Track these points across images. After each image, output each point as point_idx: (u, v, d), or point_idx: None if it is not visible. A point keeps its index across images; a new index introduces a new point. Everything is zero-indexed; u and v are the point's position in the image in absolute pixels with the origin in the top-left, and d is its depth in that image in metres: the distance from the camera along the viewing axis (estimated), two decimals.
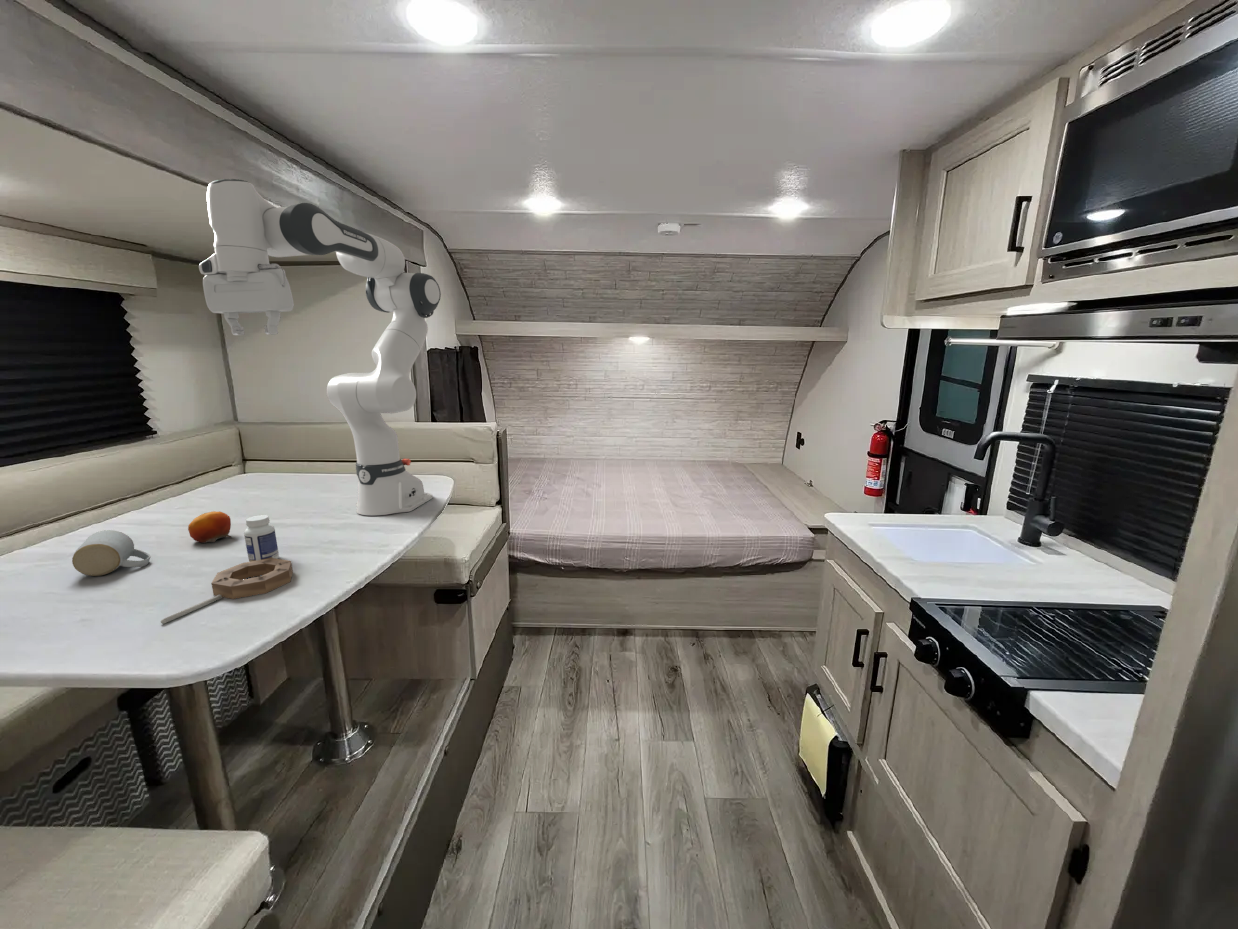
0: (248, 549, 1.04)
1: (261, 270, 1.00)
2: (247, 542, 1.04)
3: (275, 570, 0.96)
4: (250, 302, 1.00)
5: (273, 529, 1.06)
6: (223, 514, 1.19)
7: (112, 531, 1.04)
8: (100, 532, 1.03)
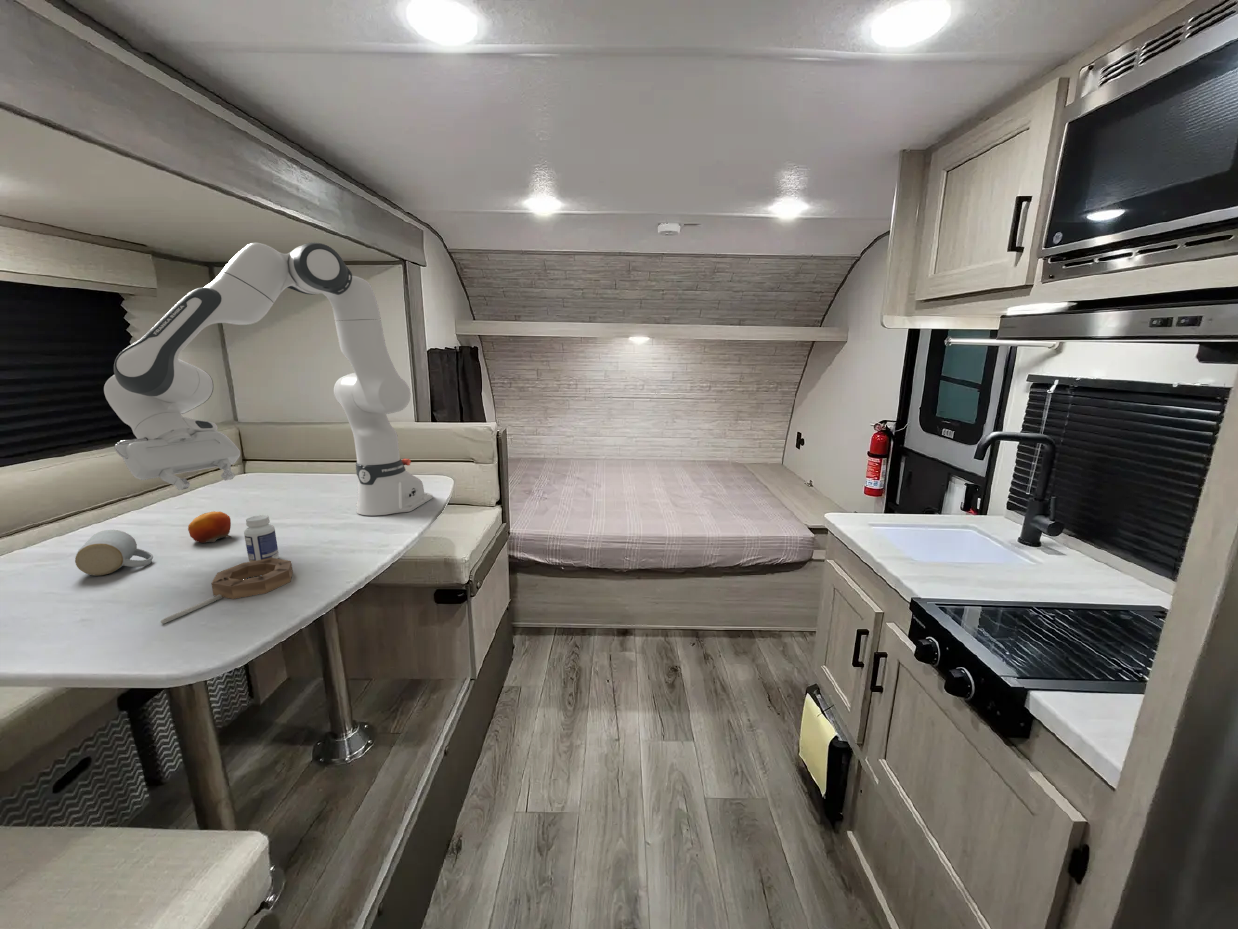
0: (248, 549, 1.04)
1: None
2: (247, 542, 1.04)
3: (275, 570, 0.96)
4: None
5: (273, 529, 1.06)
6: (223, 514, 1.19)
7: (115, 531, 1.04)
8: (103, 532, 1.03)
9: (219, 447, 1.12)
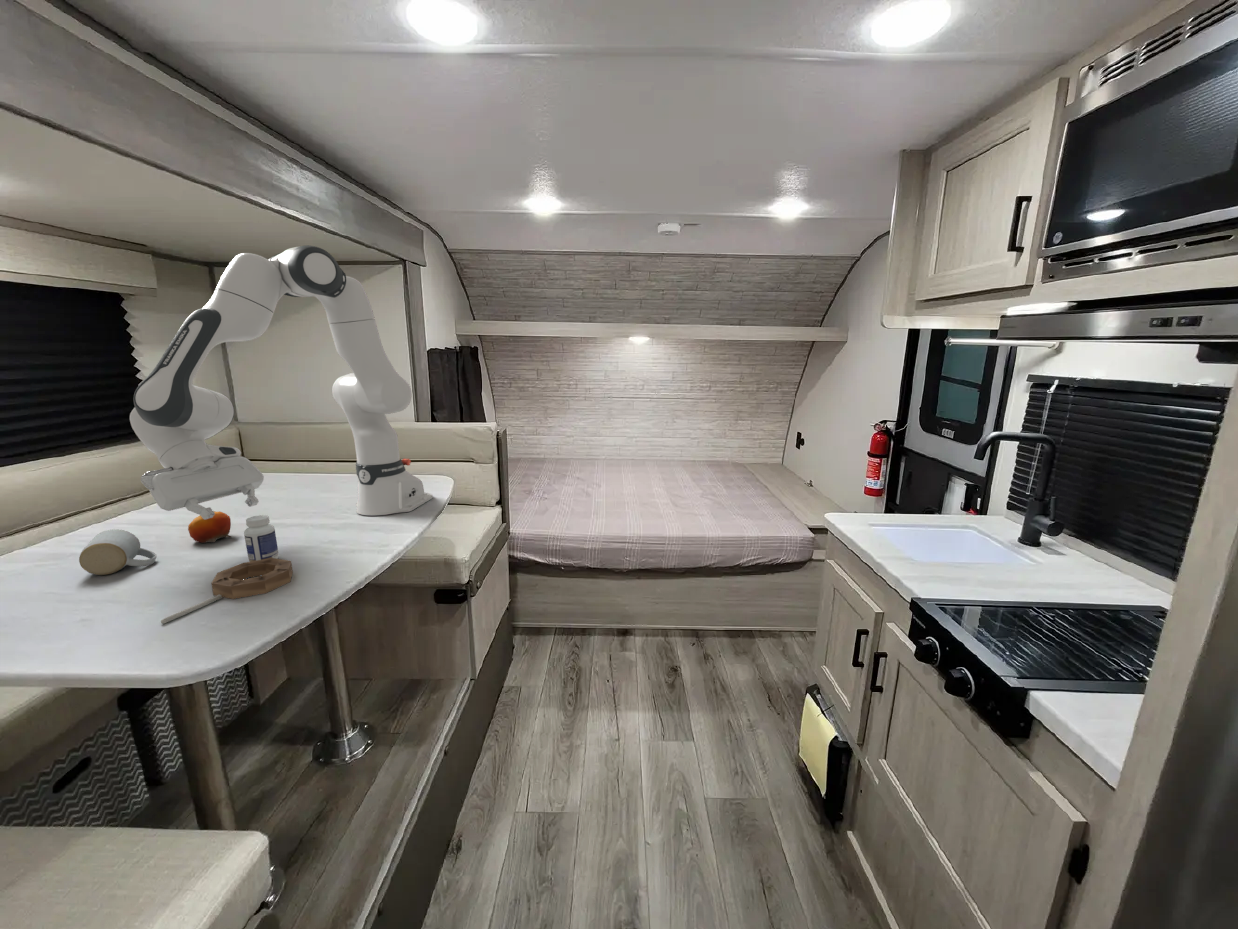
0: (248, 549, 1.04)
1: None
2: (247, 542, 1.04)
3: (275, 570, 0.96)
4: None
5: (273, 529, 1.06)
6: (223, 514, 1.19)
7: (118, 530, 1.04)
8: (107, 531, 1.03)
9: (242, 472, 1.12)
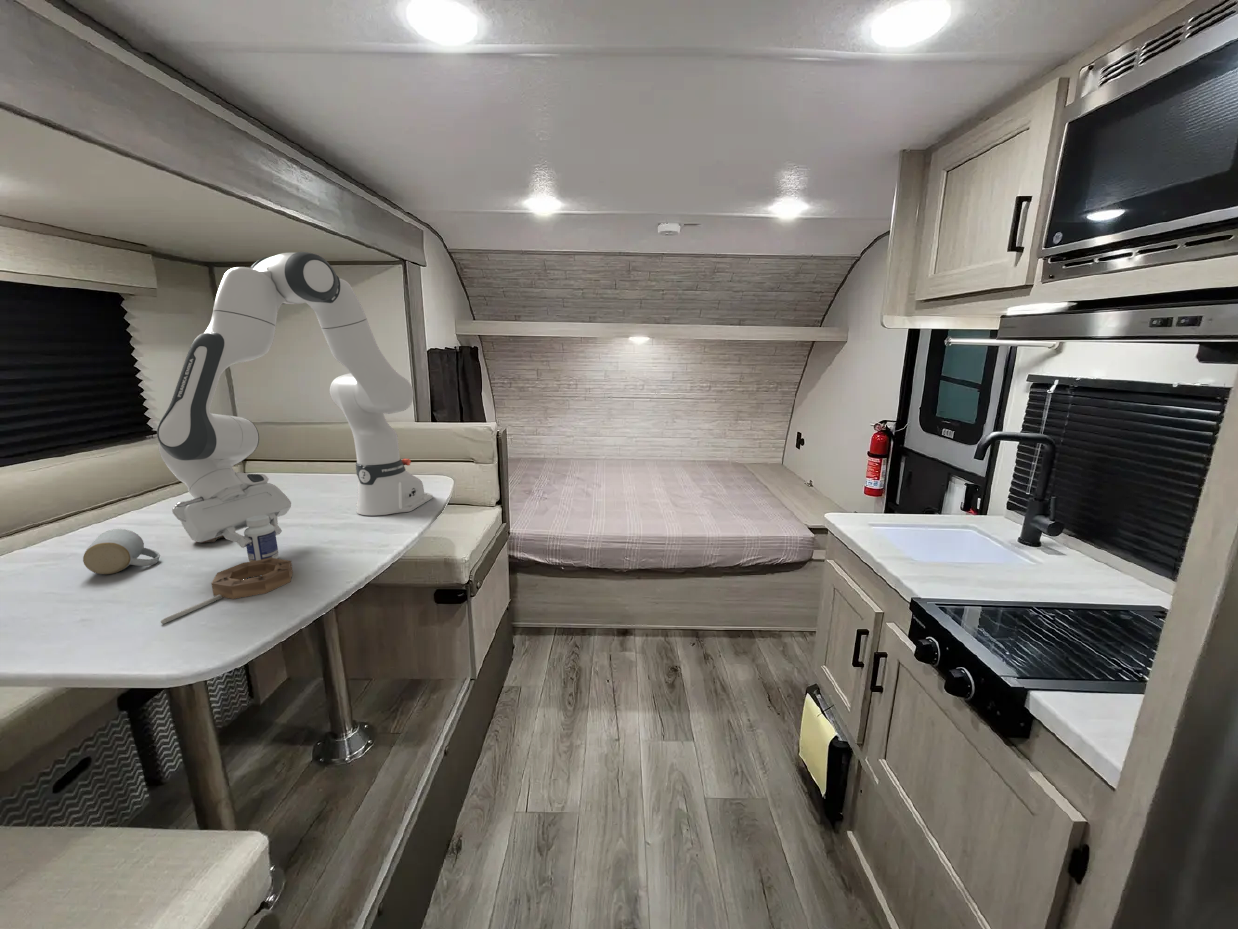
0: (248, 549, 1.04)
1: None
2: None
3: (275, 570, 0.96)
4: None
5: (273, 529, 1.06)
6: None
7: (122, 530, 1.04)
8: (110, 531, 1.03)
9: (270, 500, 1.11)
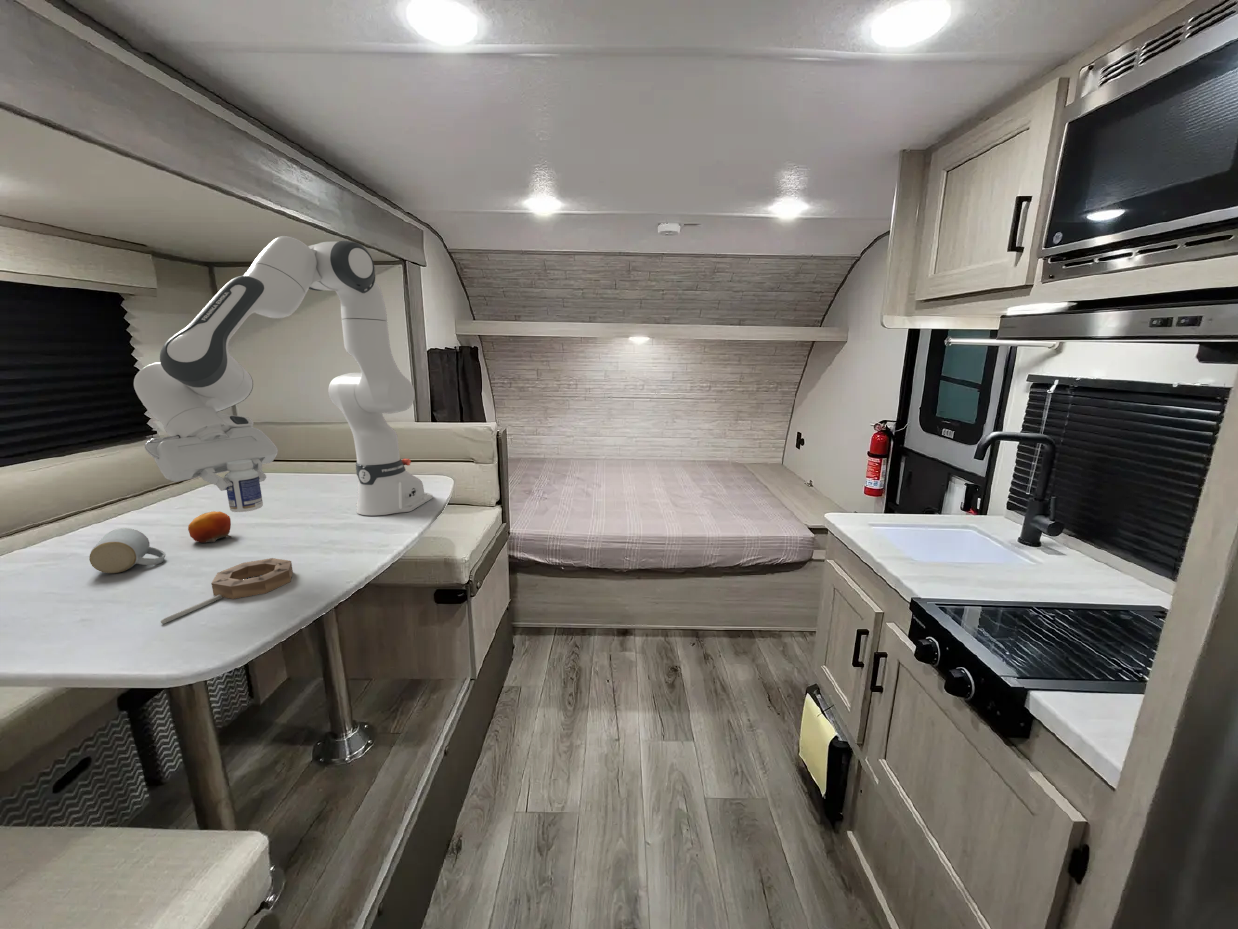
0: (229, 495, 0.96)
1: None
2: None
3: (275, 570, 0.96)
4: None
5: (256, 475, 0.98)
6: (223, 514, 1.19)
7: (128, 529, 1.05)
8: (116, 530, 1.04)
9: (255, 444, 1.03)
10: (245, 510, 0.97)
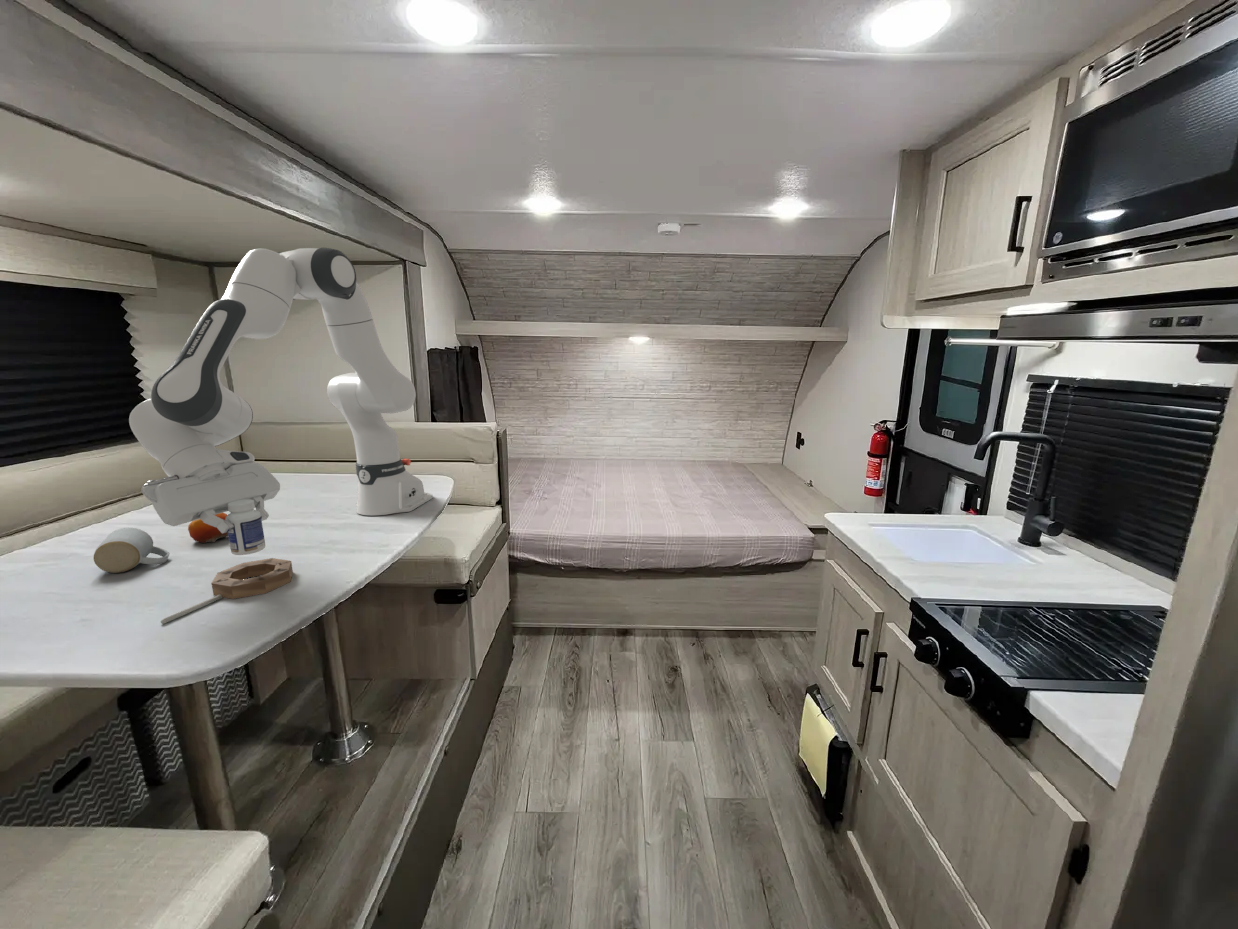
0: (230, 537, 0.92)
1: None
2: None
3: (275, 570, 0.96)
4: None
5: (259, 515, 0.94)
6: (223, 514, 1.19)
7: (132, 528, 1.05)
8: (120, 529, 1.04)
9: (256, 481, 0.99)
10: (247, 553, 0.93)
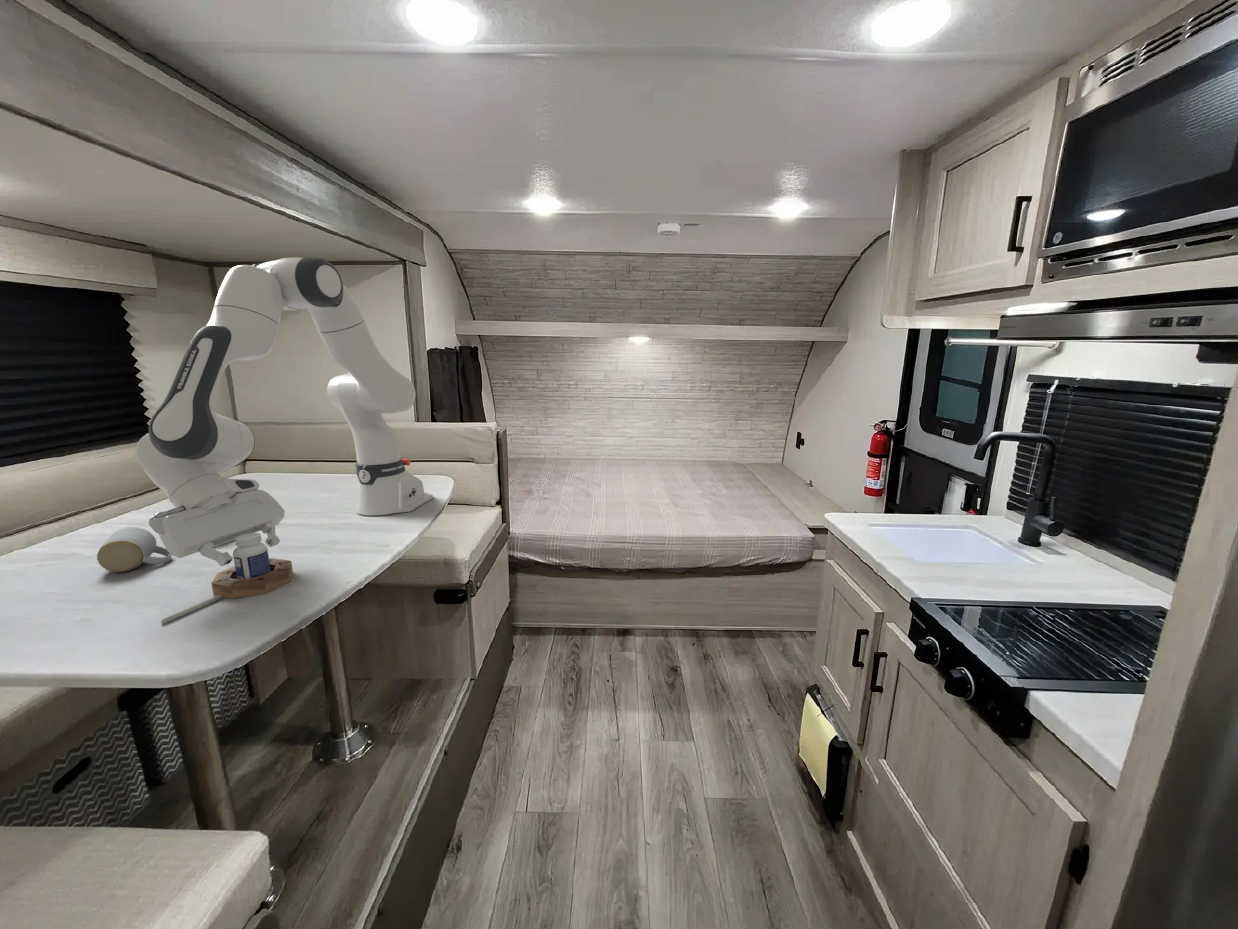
0: (237, 571, 0.93)
1: None
2: (236, 564, 0.93)
3: (275, 570, 0.96)
4: None
5: (265, 549, 0.96)
6: None
7: (135, 528, 1.05)
8: (124, 529, 1.04)
9: (261, 508, 1.00)
10: None
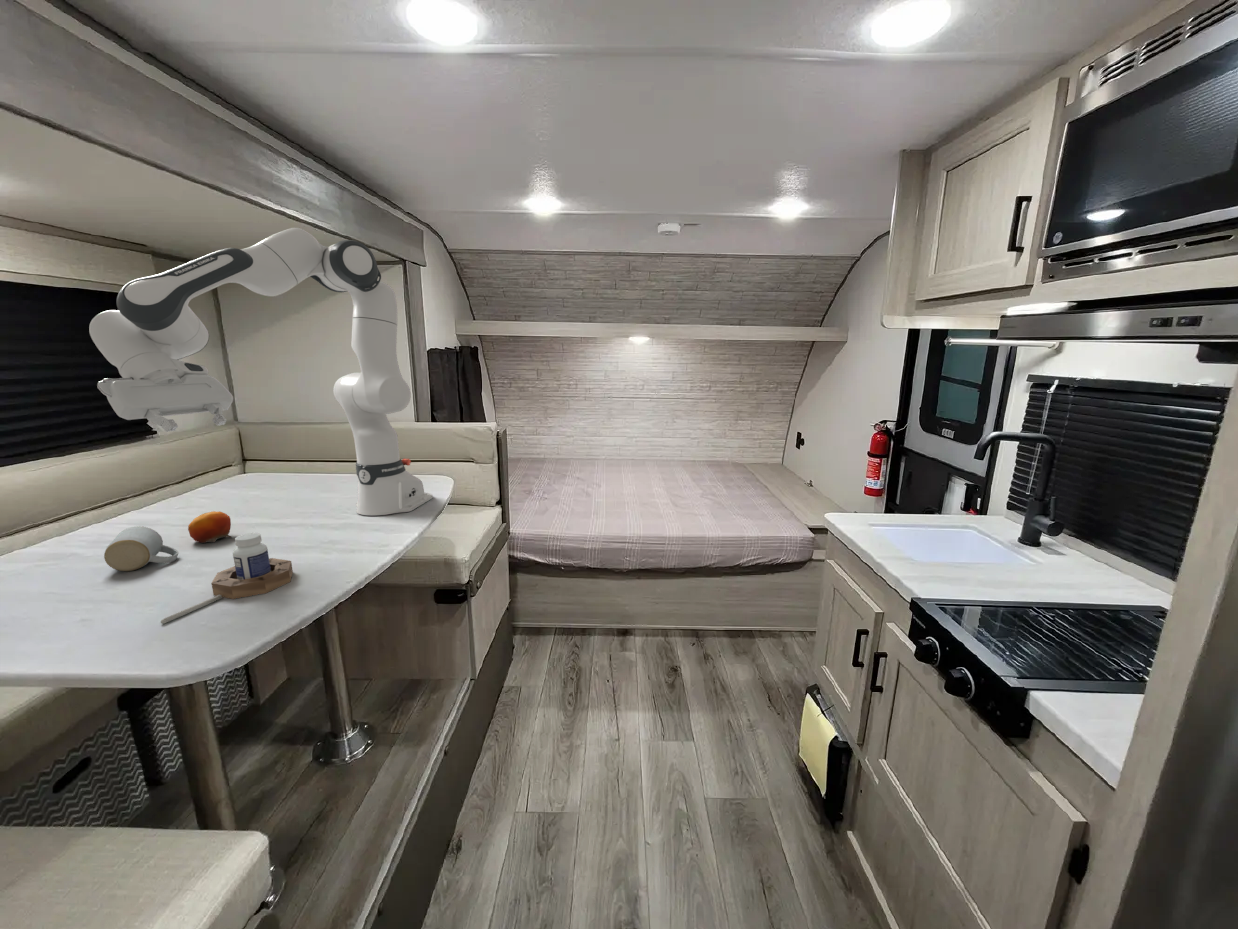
0: (237, 571, 0.93)
1: None
2: (236, 563, 0.93)
3: (275, 570, 0.96)
4: None
5: (265, 549, 0.96)
6: (223, 514, 1.19)
7: (142, 527, 1.06)
8: (130, 528, 1.05)
9: (210, 391, 1.07)
10: None
